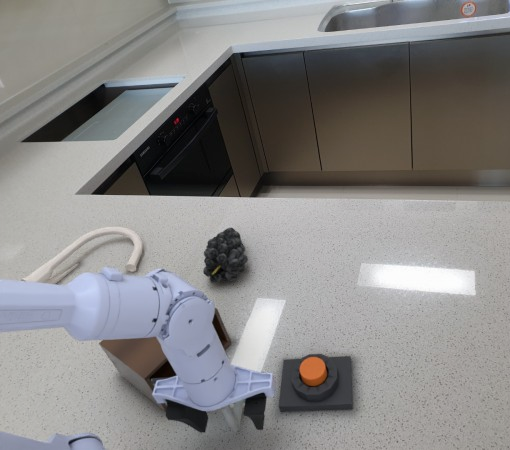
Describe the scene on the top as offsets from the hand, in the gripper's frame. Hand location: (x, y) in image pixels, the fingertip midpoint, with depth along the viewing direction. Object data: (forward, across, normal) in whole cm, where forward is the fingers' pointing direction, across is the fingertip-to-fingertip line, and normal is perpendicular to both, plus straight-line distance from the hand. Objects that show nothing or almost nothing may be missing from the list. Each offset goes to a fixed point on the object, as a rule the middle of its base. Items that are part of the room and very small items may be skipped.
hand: (232, 423), depth 60 cm
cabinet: (+3, +12, -13) cm, 18 cm away
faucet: (+3, +36, -37) cm, 51 cm away
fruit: (+3, +7, -35) cm, 36 cm away
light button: (+1, -10, -7) cm, 13 cm away
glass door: (+2, +4, -2) cm, 5 cm away
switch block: (+3, -10, -7) cm, 13 cm away
